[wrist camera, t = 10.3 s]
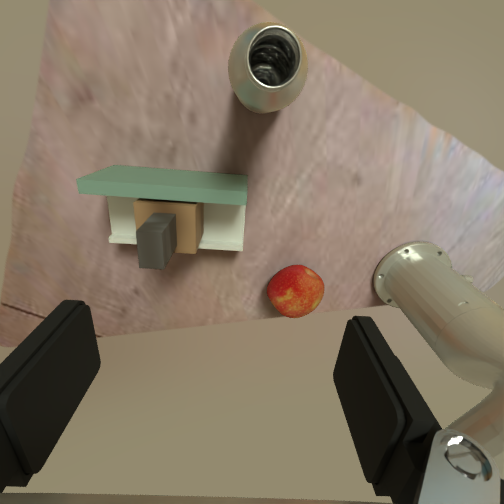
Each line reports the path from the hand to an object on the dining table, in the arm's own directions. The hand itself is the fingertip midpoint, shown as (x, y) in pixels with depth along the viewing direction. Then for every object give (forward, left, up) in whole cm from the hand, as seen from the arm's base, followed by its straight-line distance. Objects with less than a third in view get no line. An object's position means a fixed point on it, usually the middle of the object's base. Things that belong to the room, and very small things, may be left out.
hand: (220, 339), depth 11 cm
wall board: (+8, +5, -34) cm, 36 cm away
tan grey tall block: (+8, +5, -31) cm, 32 cm away
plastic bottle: (-2, -11, -34) cm, 36 cm away
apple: (-10, +17, -34) cm, 40 cm away
